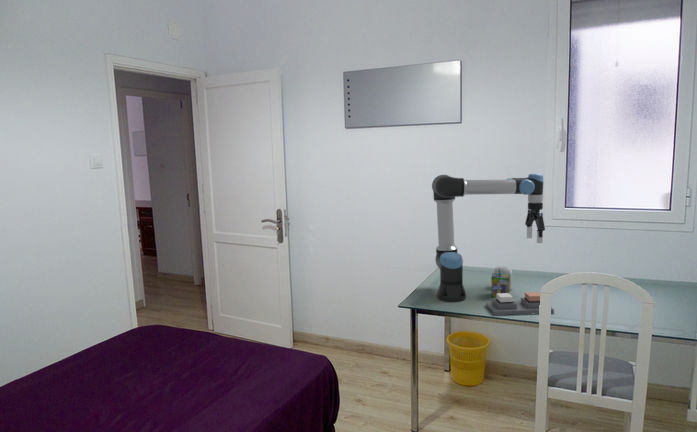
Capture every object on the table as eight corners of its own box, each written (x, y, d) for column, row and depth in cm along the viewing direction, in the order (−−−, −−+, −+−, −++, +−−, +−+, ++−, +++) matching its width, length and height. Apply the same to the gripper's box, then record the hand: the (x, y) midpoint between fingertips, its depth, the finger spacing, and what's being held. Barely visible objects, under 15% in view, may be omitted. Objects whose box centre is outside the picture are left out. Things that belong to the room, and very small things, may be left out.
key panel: (494, 315, 219) (494, 306, 218) (485, 305, 233) (485, 297, 232) (553, 313, 219) (554, 304, 218) (541, 303, 233) (541, 295, 232)
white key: (500, 302, 222) (500, 297, 222) (496, 298, 228) (496, 293, 228) (512, 301, 222) (512, 296, 222) (508, 297, 228) (508, 293, 228)
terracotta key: (529, 301, 222) (529, 296, 222) (524, 297, 228) (524, 292, 228) (542, 300, 222) (542, 295, 222) (537, 297, 228) (537, 292, 228)
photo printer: (493, 287, 263) (493, 266, 261) (497, 285, 266) (497, 264, 264) (509, 291, 255) (509, 269, 253) (513, 289, 258) (514, 267, 256)
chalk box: (509, 299, 241) (509, 272, 239) (491, 298, 244) (491, 271, 242) (510, 294, 249) (510, 267, 247) (492, 293, 253) (492, 266, 251)
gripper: (552, 204, 239) (551, 244, 242) (532, 199, 264) (531, 236, 267) (538, 205, 239) (537, 245, 242) (519, 200, 264) (518, 236, 267)
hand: (534, 240), depth 255 cm, fingers open, 13 cm apart
